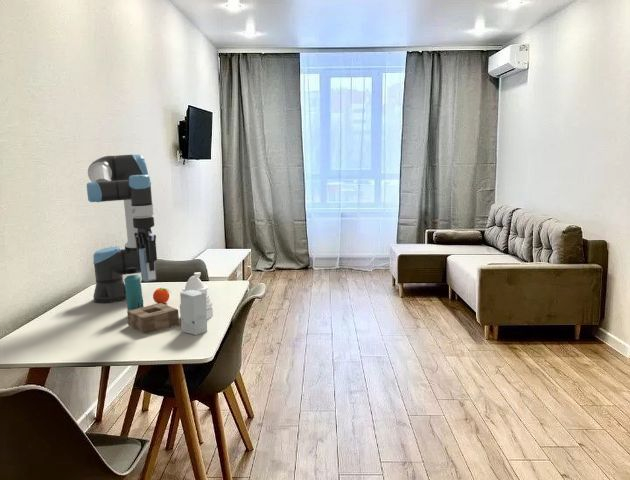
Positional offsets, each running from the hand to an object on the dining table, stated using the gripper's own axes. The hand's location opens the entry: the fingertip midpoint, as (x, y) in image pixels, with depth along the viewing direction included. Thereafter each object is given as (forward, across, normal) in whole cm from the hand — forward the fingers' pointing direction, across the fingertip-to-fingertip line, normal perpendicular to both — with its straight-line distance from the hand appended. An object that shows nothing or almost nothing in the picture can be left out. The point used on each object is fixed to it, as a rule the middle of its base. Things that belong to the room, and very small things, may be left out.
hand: (149, 278), depth 213 cm
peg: (+1, 0, 0) cm, 1 cm away
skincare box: (+19, +19, +7) cm, 28 cm away
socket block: (+19, 0, 0) cm, 19 cm away
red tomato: (+19, -26, +17) cm, 36 cm away
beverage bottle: (+19, -18, +1) cm, 26 cm away
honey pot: (+19, +3, +17) cm, 26 cm away
